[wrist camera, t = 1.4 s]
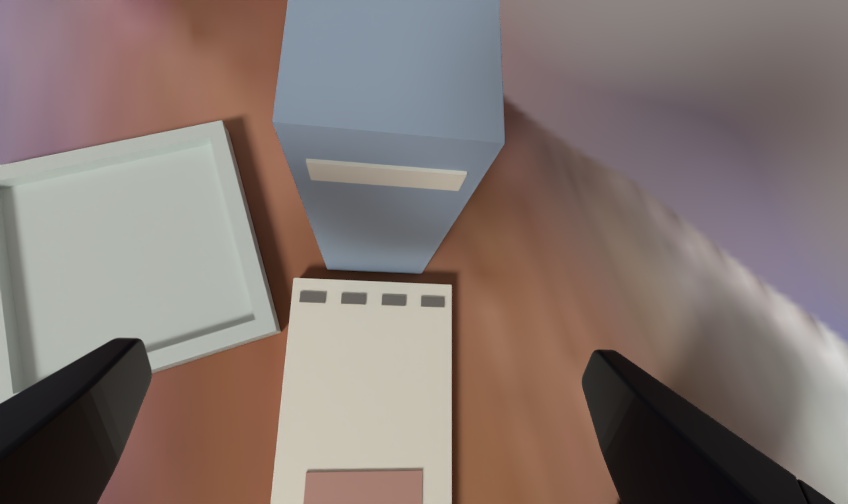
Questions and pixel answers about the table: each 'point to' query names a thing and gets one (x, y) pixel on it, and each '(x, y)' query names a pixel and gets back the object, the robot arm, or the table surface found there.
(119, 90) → the table surface
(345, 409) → the board
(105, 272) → the tray
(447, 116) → the blue tall block
